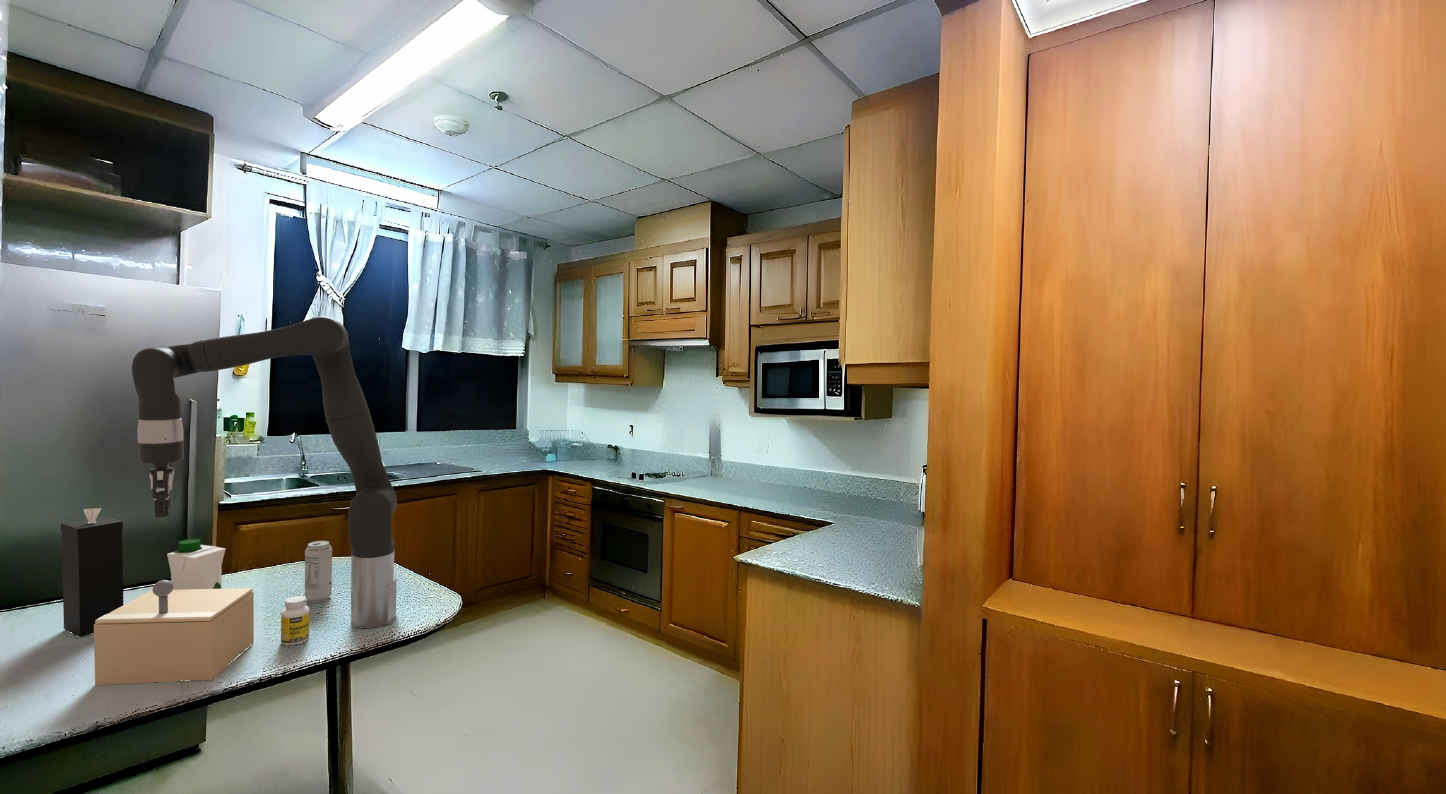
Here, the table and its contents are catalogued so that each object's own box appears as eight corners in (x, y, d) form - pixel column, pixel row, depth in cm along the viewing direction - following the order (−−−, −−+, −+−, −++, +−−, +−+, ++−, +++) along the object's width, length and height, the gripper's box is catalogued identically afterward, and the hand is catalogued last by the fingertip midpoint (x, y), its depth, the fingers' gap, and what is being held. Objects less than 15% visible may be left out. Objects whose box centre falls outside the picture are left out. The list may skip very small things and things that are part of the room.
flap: (252, 590, 144) (252, 558, 144) (210, 620, 129) (209, 584, 128) (151, 592, 141) (151, 559, 140) (95, 623, 125) (94, 586, 125)
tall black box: (124, 625, 151) (122, 507, 149) (79, 638, 144) (77, 514, 142) (107, 618, 154) (105, 502, 152) (62, 630, 147) (60, 508, 145)
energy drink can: (336, 598, 172) (336, 543, 171) (311, 605, 167) (312, 548, 166) (324, 592, 175) (324, 538, 174) (300, 599, 170) (300, 543, 169)
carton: (253, 643, 145) (253, 591, 144) (211, 680, 129) (211, 621, 129) (151, 647, 141) (150, 593, 141) (95, 684, 126) (93, 624, 125)
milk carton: (200, 615, 158) (199, 535, 157) (231, 620, 156) (230, 539, 155) (162, 630, 149) (161, 545, 148) (194, 635, 148) (194, 549, 146)
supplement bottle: (288, 648, 144) (288, 605, 143) (276, 641, 147) (276, 599, 146) (314, 639, 148) (314, 598, 148) (302, 633, 151) (302, 592, 151)
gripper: (182, 442, 138) (184, 517, 139) (184, 434, 149) (185, 503, 150) (135, 445, 133) (137, 522, 135) (140, 436, 144) (142, 507, 146)
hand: (163, 512), depth 142 cm, fingers open, 8 cm apart
